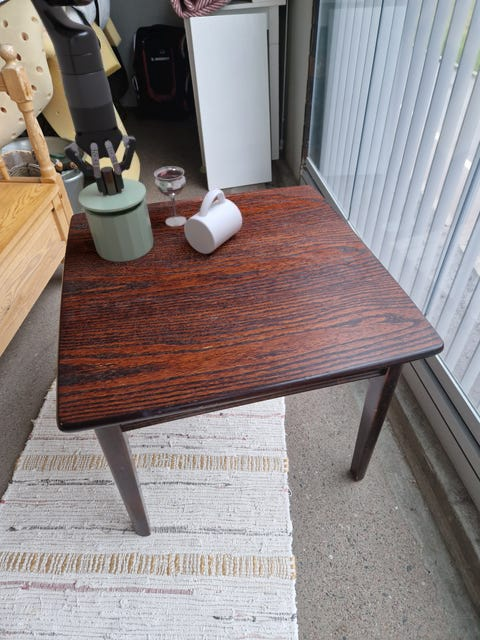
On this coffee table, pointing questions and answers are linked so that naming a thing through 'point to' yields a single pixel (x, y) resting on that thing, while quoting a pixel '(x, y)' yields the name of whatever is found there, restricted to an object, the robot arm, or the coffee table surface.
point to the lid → (112, 194)
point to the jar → (121, 232)
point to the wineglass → (171, 188)
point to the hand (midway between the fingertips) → (112, 191)
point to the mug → (213, 223)
